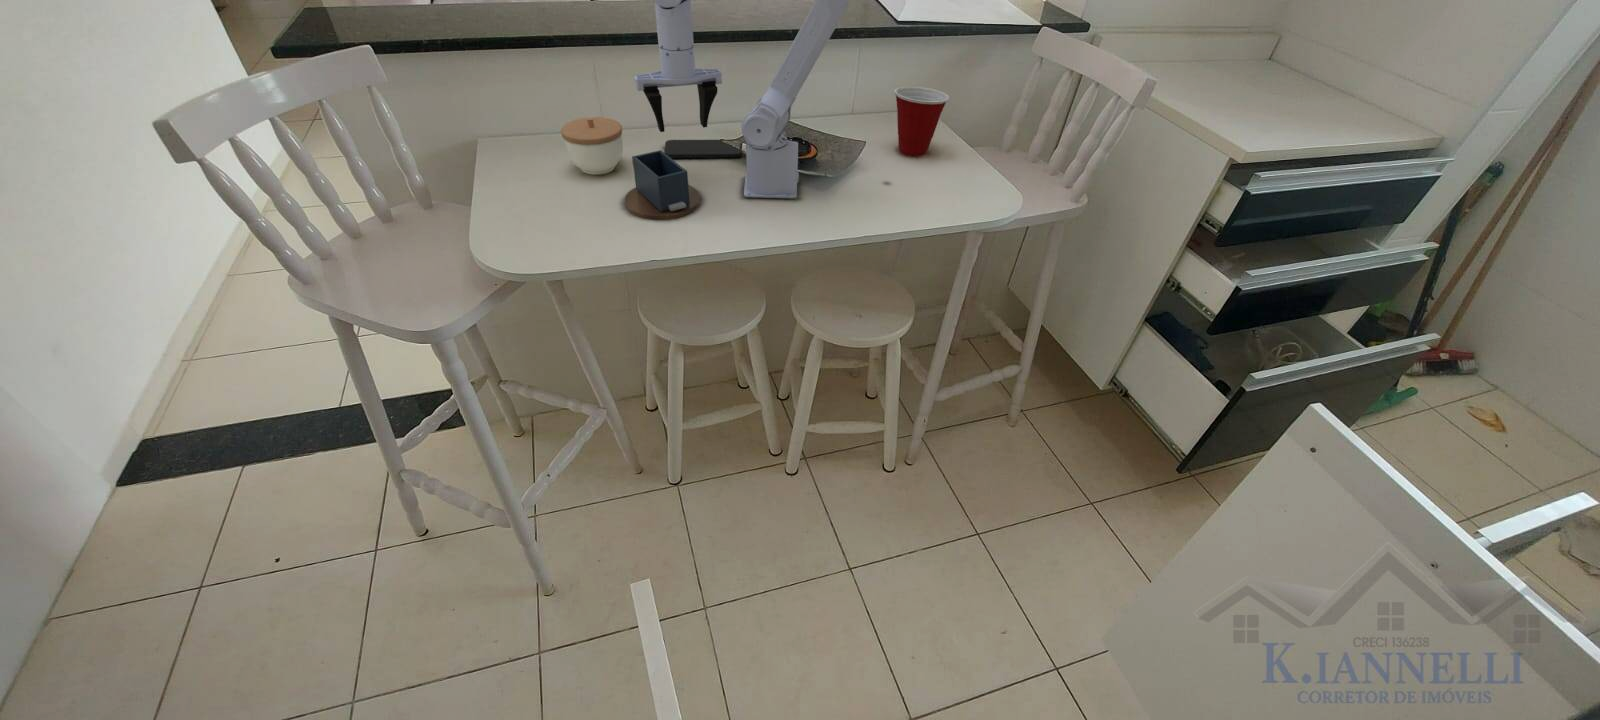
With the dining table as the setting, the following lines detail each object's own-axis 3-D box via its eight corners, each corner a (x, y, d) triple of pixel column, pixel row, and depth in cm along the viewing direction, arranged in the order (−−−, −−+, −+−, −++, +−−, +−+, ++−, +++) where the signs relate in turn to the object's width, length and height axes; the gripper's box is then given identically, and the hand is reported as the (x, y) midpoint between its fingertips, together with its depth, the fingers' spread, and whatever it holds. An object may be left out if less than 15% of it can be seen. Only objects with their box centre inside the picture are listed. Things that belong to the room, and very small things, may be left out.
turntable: (703, 186, 121) (703, 182, 121) (696, 220, 112) (696, 216, 111) (632, 184, 121) (631, 180, 120) (618, 218, 111) (618, 214, 111)
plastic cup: (947, 149, 139) (958, 90, 131) (926, 166, 131) (936, 105, 124) (901, 136, 143) (908, 79, 135) (877, 153, 136) (884, 93, 128)
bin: (693, 207, 113) (690, 173, 109) (664, 214, 111) (660, 181, 107) (664, 182, 120) (660, 149, 116) (636, 188, 117) (631, 156, 114)
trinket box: (613, 183, 121) (605, 132, 115) (558, 176, 122) (547, 126, 116) (636, 159, 129) (629, 111, 123) (584, 153, 130) (575, 105, 124)
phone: (741, 154, 131) (664, 154, 129) (741, 158, 131) (664, 158, 129) (739, 139, 136) (665, 139, 134) (739, 143, 137) (665, 143, 135)
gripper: (712, 36, 114) (716, 115, 123) (627, 42, 110) (637, 123, 119) (724, 48, 109) (726, 129, 118) (635, 54, 105) (645, 138, 114)
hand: (682, 127), depth 118 cm, fingers open, 7 cm apart
